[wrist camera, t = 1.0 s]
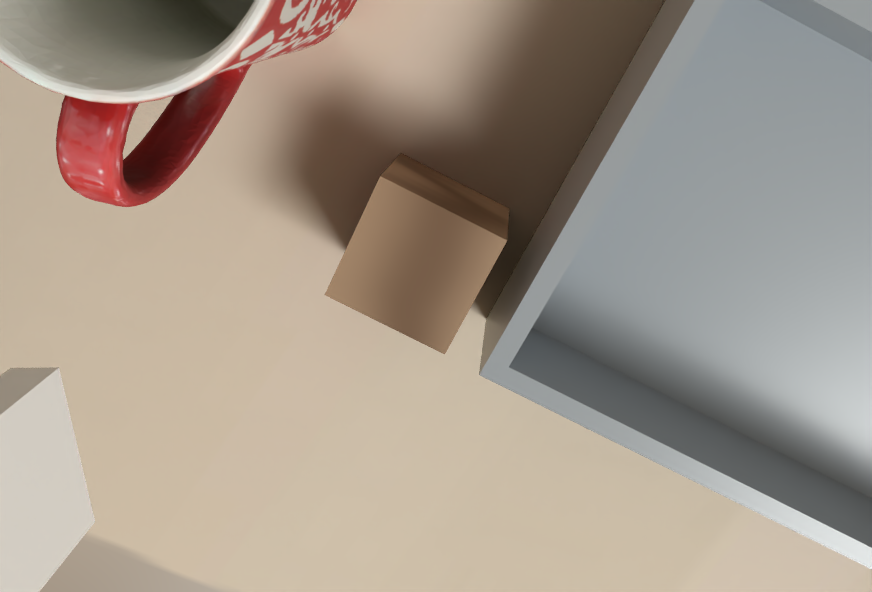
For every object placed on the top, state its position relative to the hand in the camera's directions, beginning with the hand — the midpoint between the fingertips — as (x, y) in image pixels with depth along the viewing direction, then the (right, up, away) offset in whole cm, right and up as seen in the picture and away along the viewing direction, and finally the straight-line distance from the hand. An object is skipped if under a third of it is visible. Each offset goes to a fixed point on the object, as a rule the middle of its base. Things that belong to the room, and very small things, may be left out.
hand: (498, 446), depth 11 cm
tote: (+16, +2, +20) cm, 26 cm away
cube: (-1, +5, +22) cm, 22 cm away
